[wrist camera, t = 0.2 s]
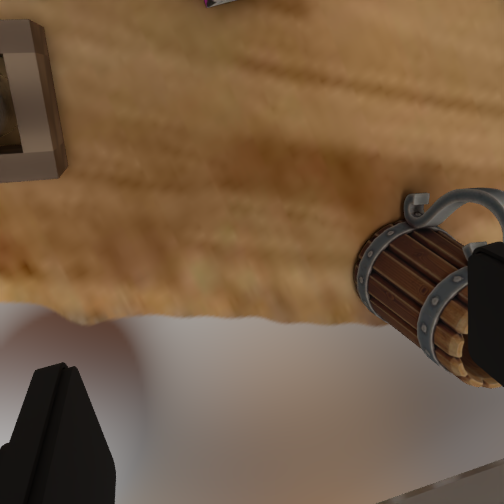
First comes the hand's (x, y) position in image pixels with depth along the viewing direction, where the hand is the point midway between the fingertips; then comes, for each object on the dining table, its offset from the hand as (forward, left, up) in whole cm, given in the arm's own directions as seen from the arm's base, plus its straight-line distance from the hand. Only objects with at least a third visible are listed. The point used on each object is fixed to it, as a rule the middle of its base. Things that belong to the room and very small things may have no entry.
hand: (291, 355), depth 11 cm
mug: (+10, +21, -31) cm, 39 cm away
